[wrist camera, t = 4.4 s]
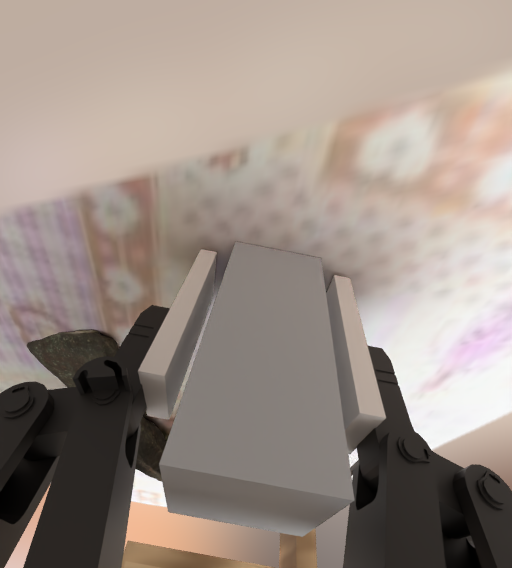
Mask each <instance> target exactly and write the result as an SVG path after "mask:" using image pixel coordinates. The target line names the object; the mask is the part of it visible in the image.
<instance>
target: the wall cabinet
mask: <svg viewBox="0 0 512 568" xmlns="http://www.w3.org/2000/svg"><path fill="white" fill-rule="evenodd" d="M121 568H274V567H268V566H263V565H258V564H252V563H247V562H242V561H236V560H231V559H225V558H220V557H214V556H209V555H203V554H198V553H192V552H187V551H181V550H175V549H171V548H165V547H159V546H154V545H149V544H143V543H138V542H132V541H128V542H127V545H126V547H125V550H124V553H123V560H122V567H121ZM279 568H317V555H316V533H315V529H313V530H312V531H310V532H309V533H307V534H306V535H305V536H303V537H301V536H295V535H290V534H284V533H280V559H279Z"/></svg>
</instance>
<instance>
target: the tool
mask: <svg viewBox="0 0 512 568" xmlns="http://www.w3.org/2000/svg"><path fill="white" fill-rule="evenodd" d="M27 347H28V348H29V350H30V352H31V353H32V354H33V355H34V356H35V357H36V358H37V359H38V360H39V361H40V363H42V364H43V365H44V366H45V367H46V368H47V369H48V370H49V371H51V372H52V373H53V374H54V375H55V376H56V377H58V378H59V379H60V380H61V381H62V382H63V383H64V384H65V385H66V386H67V387H68V388H70V387H76V385H75V383H74V381H73V379H72V378H73V377H74V375H75V373H76V372H77V370H78V369H79V368H80V367H82V366H83V365H84V364H85V363H87V362H89V361H91V360H93V359H95V358H99V357H104V356H109V357H114V356H115V354H116V352H117V351H118V349H119V348H118V347H117V343H116V342H115V341H114V340H113V338H110V337H106V336H104V335H101V334H99V332H98V331H96V330H80V331H74V332H61V333H58V334H55V335H51V336H48V337H46V338H44V339H41V340H36V341H32V342H29V343H28V344H27ZM140 425H141V432H140V439H139V446H138V453H137V460H136V467H135V469H137V470H140V471H141V472H143V473H145V475H148V476H150V477H153V478H156V479H157V480H159V481H162V477H161V471H160V466H159V463H160V460H161V457H162V454H163V452H164V449H165V446H166V443H167V442H166V440H165V437H164V435H163V434H162V431H160V430H159V428H157V427H156V425H155V424H153V423H152V422H150V421H148V420H146V419H145V418H144V417H142V419H141V421H140Z"/></svg>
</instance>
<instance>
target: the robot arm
mask: <svg viewBox="0 0 512 568" xmlns="http://www.w3.org/2000/svg"><path fill="white" fill-rule="evenodd" d="M216 257H217V252H213V251H208V250H203V249H201V250H200V252H199V254H198V256H197V258H196V260H195V261H194V263H193V265H192V267H191V269H190V271H189V273H188V275H187V277H186V279H185V281H184V283H183V285H182V287H181V289H180V290H179V292H178V294H177V296H176V298H175V300H174V302H173V304H172V306H171V308H165V307H159V306H154V305H151V306H150V307H149V308H147V309H146V310H145V311H143V312H142V313H141V314H140V316H139V317H138V319H137V320H136V322H135V324H134V326H133V327H132V328H131V330H130V332H129V334H128V335H127V336H126V338H125V340H124V341H123V343H122V344H121V346H120V348H119V349H118V351H117V352H116V354H115V356H114V357H109V356H104V357H99V358H95V359H93V360H91V361H89V362H87V363H85V364H84V365H83V366H82V367H80V368H79V369H78V370H77V372H76V373H75V375H74V377H73V378H72V379H73V381H74V383H75V385H76V387H70V388H62V389H54V390H47V389H46V387H45V386H44V385H43V384H40V383H38V382H24V383H21V384H18V385H14V386H12V387H11V388H9V389H7V390H5V391H3V392H2V393H1V394H0V568H4V567H5V565H6V563H7V561H8V560H9V558H10V556H11V554H12V552H13V551H14V548H15V547H16V545H17V543H18V542H19V540H20V538H21V536H22V534H23V532H24V531H25V529H26V527H27V525H28V523H29V521H30V519H31V518H32V516H33V514H34V512H35V510H36V508H37V507H38V505H39V503H40V501H41V500H42V498H43V496H44V494H45V492H46V490H47V488H48V487H49V485H50V483H51V485H50V488H49V491H48V494H47V497H46V500H45V503H44V506H43V510H42V512H41V515H40V519H39V522H38V525H37V528H36V531H35V534H34V537H33V540H32V543H31V546H30V549H29V552H28V555H27V558H26V561H25V564H24V567H23V568H121V567H122V560H123V553H124V545H125V538H126V531H127V524H128V517H129V510H130V503H131V496H132V489H133V481H134V474H135V467H136V460H137V453H138V446H139V439H140V432H141V425H140V421H141V419H142V417H143V415H144V412H145V410H146V412H147V416H151V417H156V418H162V419H167V420H169V419H170V416H171V413H172V410H173V408H174V405H175V402H176V399H177V396H178V393H179V391H180V388H181V385H182V382H183V379H184V377H185V374H186V371H187V368H188V365H189V363H190V360H191V357H192V354H193V351H194V349H195V346H196V343H197V340H198V337H199V335H200V332H201V329H202V326H203V323H204V321H205V318H206V315H207V312H208V309H209V307H210V304H211V301H212V298H213V295H214V283H215V270H216ZM326 297H327V304H328V311H329V319H330V326H331V333H332V340H333V348H334V355H335V362H336V370H337V377H338V384H339V391H340V399H341V406H342V413H343V420H344V428H345V435H346V442H347V449H348V454H351V453H352V452H353V451H354V450H355V449H356V448H357V452H358V458H359V460H358V461H357V462H356V463H355V464H354V465H353V466H352V467H351V468H350V471H351V476H352V475H353V480H352V486H353V493H354V500H355V501H353V502H352V503H350V508H349V517H348V526H347V536H346V546H345V554H344V564H343V568H512V491H511V490H510V488H509V486H508V485H507V484H506V483H505V482H504V481H503V480H502V479H501V478H500V477H499V476H498V475H497V474H495V473H494V472H493V471H491V470H490V469H488V468H486V467H484V466H481V465H470V466H468V467H466V468H462V467H460V466H458V465H456V464H454V463H453V462H450V461H449V460H447V459H445V458H443V457H441V456H439V455H437V454H436V453H434V452H433V451H431V449H430V448H429V446H428V444H427V443H426V441H425V440H424V439H423V438H422V437H421V436H420V435H419V434H418V433H416V432H415V431H414V429H413V427H412V425H411V422H410V418H409V415H408V412H407V409H406V406H405V403H404V400H403V397H402V394H401V391H400V388H399V386H398V382H397V378H396V375H394V373H395V372H394V369H393V366H392V363H391V360H390V359H389V357H388V356H387V355H386V353H385V352H384V351H383V349H382V348H377V347H371V346H367V342H366V338H365V334H364V330H363V326H362V323H361V319H360V315H359V311H358V307H357V303H356V299H355V296H354V292H353V288H352V284H351V280H350V278H347V277H342V276H337V275H334V277H333V279H332V281H331V284H330V286H329V288H328V291H327V293H326ZM51 481H52V482H51Z"/></svg>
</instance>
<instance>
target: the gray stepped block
mask: <svg viewBox="0 0 512 568" xmlns="http://www.w3.org/2000/svg"><path fill="white" fill-rule="evenodd" d="M159 466H160V471H161V477H162V482H163V487H164V492H165V497H166V502H167V508H168V512H170V513H176V514H181V515H187V516H192V517H198V518H203V519H209V520H214V521H219V522H225V523H230V524H236V525H241V526H246V527H253V528H258V529H263V530H268V531H274V532H279V533H284V534H290V535H295V536H301V537H303V536H305V535H306V534H307V533H309V532H310V531H312V530H313V529H315V528H316V527H317V526H319V525H320V524H322V523H323V522H325V521H326V520H327V519H329V518H330V517H332V516H333V515H335V514H336V513H337V512H339V511H340V510H342V509H343V508H345V507H346V506H347V505H349V504H350V503H352V502H353V501H355V500H354V493H353V486H352V479H351V471H350V464H349V457H348V449H347V442H346V435H345V428H344V420H343V413H342V406H341V399H340V391H339V384H338V377H337V370H336V362H335V355H334V348H333V340H332V333H331V326H330V319H329V311H328V304H327V297H326V290H325V282H324V275H323V268H322V261H321V258H318V257H313V256H308V255H303V254H297V253H292V252H287V251H282V250H277V249H272V248H267V247H262V246H257V245H251V244H246V243H241V242H236V241H235V244H234V247H233V250H232V253H231V256H230V259H229V262H228V265H227V268H226V270H225V273H224V276H223V279H222V282H221V285H220V288H219V291H218V294H217V297H216V300H215V303H214V305H213V308H212V311H211V314H210V317H209V320H208V323H207V326H206V329H205V332H204V335H203V338H202V341H201V343H200V346H199V349H198V352H197V355H196V358H195V361H194V364H193V367H192V370H191V373H190V376H189V379H188V381H187V384H186V387H185V390H184V393H183V396H182V399H181V402H180V405H179V408H178V411H177V414H176V416H175V419H174V422H173V425H172V428H171V431H170V434H169V437H168V440H167V443H166V446H165V449H164V452H163V454H162V457H161V460H160V463H159Z"/></svg>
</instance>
